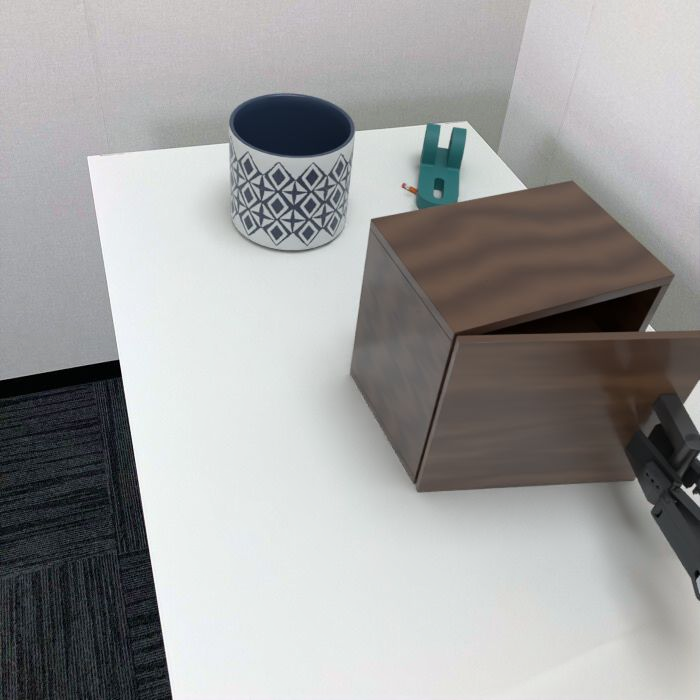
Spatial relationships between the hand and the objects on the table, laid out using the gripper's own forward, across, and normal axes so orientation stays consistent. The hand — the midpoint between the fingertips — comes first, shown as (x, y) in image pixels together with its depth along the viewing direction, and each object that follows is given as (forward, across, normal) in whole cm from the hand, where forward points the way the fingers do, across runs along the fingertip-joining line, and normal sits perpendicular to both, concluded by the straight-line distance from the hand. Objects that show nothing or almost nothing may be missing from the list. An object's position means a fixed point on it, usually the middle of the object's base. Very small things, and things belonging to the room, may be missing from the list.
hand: (643, 435), depth 78 cm
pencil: (+56, +9, -11) cm, 58 cm away
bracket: (+62, +10, -11) cm, 64 cm away
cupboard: (+18, -8, -11) cm, 23 cm away
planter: (+61, -18, -11) cm, 64 cm away
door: (+1, -9, -11) cm, 14 cm away
